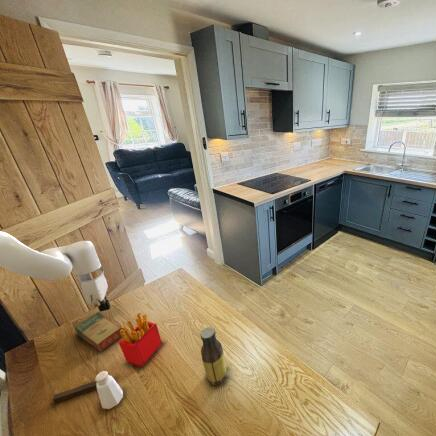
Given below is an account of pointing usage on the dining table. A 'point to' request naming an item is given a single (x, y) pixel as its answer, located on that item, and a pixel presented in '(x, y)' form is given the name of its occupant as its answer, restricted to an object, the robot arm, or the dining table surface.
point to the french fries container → (140, 341)
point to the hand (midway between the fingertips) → (105, 309)
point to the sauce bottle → (213, 357)
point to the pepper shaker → (108, 390)
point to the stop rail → (75, 392)
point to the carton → (99, 331)
